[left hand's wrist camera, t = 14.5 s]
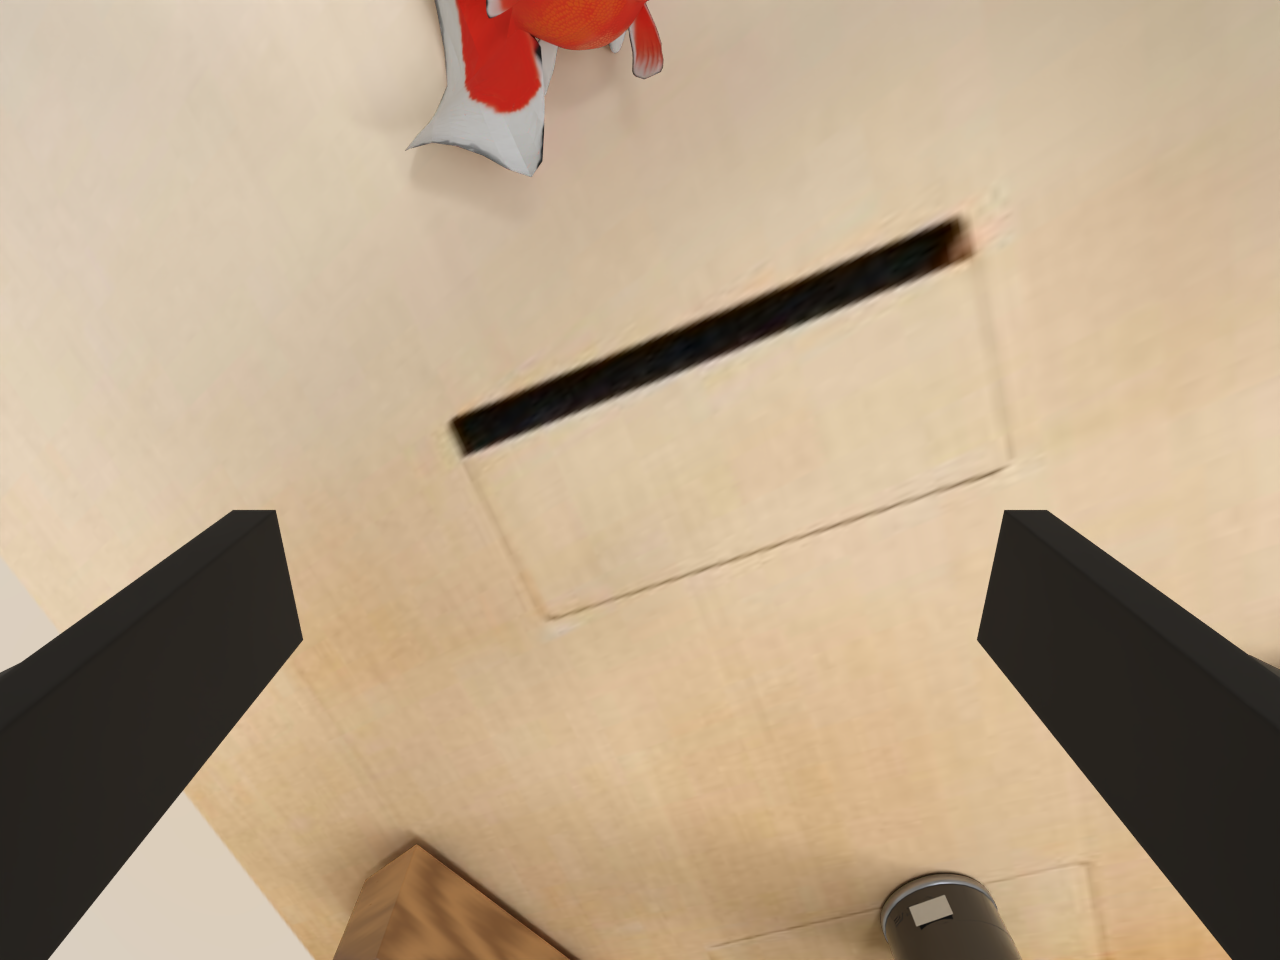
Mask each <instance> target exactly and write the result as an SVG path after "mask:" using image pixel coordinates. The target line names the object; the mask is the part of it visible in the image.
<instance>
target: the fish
mask: <svg viewBox="0 0 1280 960" xmlns="http://www.w3.org/2000/svg"><path fill="white" fill-rule="evenodd" d="M646 1H648V0H435V4H436V8H437V13H438V18H439V24H440V29H441V34H442V40H443V45H444V51H445V63H446V75H447V87H446V90H445V92H444V95H443V97H442V100H441V102H440V104H439V107H438V109H437V111H436V113H435V115H434V116H433V118H432V119H431V121H430V122H429V123H428V125H427V126H426V127H425V128H424V129H423V130H422V131H421V132H420V133H419V134H418V135H417V136H416V138H415V139H414V140H413V141H412V143H411V144H410V145H409V147H408V148H407V149H406V150H408V149H410V148H414V147H418V146H421V145H425V144H429V143H439V144H447V145H454V146H458V147H460V148H463V149H466V150H469V151H472V152H475V153H478V154H481V155H483V156H485V157H487V158H489V159H490V160H492V161H494V162H496V163H498V164H499V165H501V166H503V167H505V168H507V169H509V170H512V171H515V172H518V173H521V174H524V175H527V176H530V177H532V175H533V174H534V172H535V171H536V169H537V168H538V167H539V165H540V164H541V162H542V158H543V138H544V110H545V102H544V95H546V93H547V89H548V86H549V83H550V80H551V77H552V74H553V70H554V66H555V60H556V54H557V50H558V47H562V48H565V49H570V50H586V49H594V48H599V47H602V46H605V45H607V44H609V46H610V48H611V50H612V52H613V53H617V52H618V51H619V50H620V48H621V46H622V43H623V40H624V37H625V33H626V30H627V29H629V36H630V41H631V47H632V52H633V67H632V71H633V74H634V75H635V76H636V77H639V78H642V79H646V78H648V77H651V76H653V75H655V74H657V73H659V72H661V70H662V68H663V55H662V48H661V40H660V37H659V34H658V31H657V28H656V26H655V23H654V21H653V19H652V16H651V14H650V12H649V10H648V8H647V5H646ZM535 37H536V38H538V39H539V40H538V42H537V40H536V39H535ZM406 150H405V151H406Z"/></svg>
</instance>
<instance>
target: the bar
mask: <svg viewBox="0 0 1280 960" xmlns="http://www.w3.org/2000/svg"><path fill="white" fill-rule="evenodd" d="M333 960H570V959H568V958H567V957H566V956H565V955H563V954H562V953H561V952H559V951H558V950H557V949H555V948H554V947H553V946H551V945H550V944H549V943H547V942H546V941H545V940H543V939H542V938H541V937H539V936H538V935H537V934H535V933H534V932H533V931H531V930H530V929H529V928H527V927H526V926H525V925H523V924H522V923H521V922H519V921H518V920H517V919H515V918H514V917H513V916H511V915H510V914H509V913H507V912H506V911H505V910H504V909H502V908H501V907H500V906H498V905H497V904H496V903H494V902H493V901H492V900H490V899H489V898H488V897H486V896H485V895H484V894H482V893H481V892H480V891H478V890H477V889H476V888H474V887H473V886H472V885H470V884H469V883H468V882H466V881H465V880H464V879H462V878H461V877H460V876H458V875H457V874H456V873H454V872H453V871H452V870H450V869H449V868H448V867H446V866H445V865H444V864H443V863H441V862H440V861H439V860H437V859H436V858H435V857H433V856H432V855H431V854H429V853H428V852H427V851H425V850H424V849H423V848H421V847H420V846H419V845H417V844H416V845H415V846H413V847H412V848H410V849H409V850H408V851H406V852H405V853H403V854H402V855H400V856H399V857H398V858H396V859H395V860H393V861H392V862H390V863H389V864H388V865H386V866H385V867H383V868H382V869H381V870H379V871H378V872H376V873H375V874H373V875H372V876H371V877H369V878H368V879H366V880H365V883H364V885H363V888H362V890H361V893H360V895H359V897H358V900H357V902H356V905H355V907H354V910H353V912H352V914H351V917H350V919H349V922H348V924H347V927H346V929H345V931H344V934H343V936H342V939H341V941H340V944H339V946H338V949H337V951H336V953H335V956H334V958H333Z"/></svg>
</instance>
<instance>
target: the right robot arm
mask: <svg viewBox="0 0 1280 960" xmlns="http://www.w3.org/2000/svg"><path fill="white" fill-rule="evenodd" d="M880 921H881V927H882V930H883V933H884V936H885V938H886V940H887V942H888V944H889V946H890V949H891V952H892V955H893V958H894V960H1022V958H1021V956H1020V954H1019V952H1018V950H1017V948H1016V946H1015V944H1014V942H1013V940H1012V938H1011V936H1010V934H1009V932H1008V930H1007V928H1006V926H1005V924H1004V922H1003V920H1002V919H1001V917H1000V915H999V913H998V910H997V906H996V904H995V902H994V900H993V898H992V896H991V895H990V893H989V891H988V890H987V889H986V888H985V887H984V886H983V885H982V884H980V883H979V882H977V881H975V880H973V879H971V878H968V877H965V876H961V875H955V874H936V875H930V876H925V877H922V878H919V879H916V880H913V881H911V882H909V883H907V884H905V885H904V886H902V887H901V888H899V889H898V890H897V891H895V892H894V893H893V894H892V895H891V896H890V897H889V898H888V900H887V901H886V903H885V904H884V906H883V909H882V912H881V917H880Z"/></svg>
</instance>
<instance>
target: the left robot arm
mask: <svg viewBox="0 0 1280 960" xmlns="http://www.w3.org/2000/svg"><path fill="white" fill-rule="evenodd" d="M302 641H303V637H302V633H301V628H300V623H299V618H298V614H297V609H296V604H295V600H294V595H293V590H292V585H291V581H290V576H289V571H288V566H287V562H286V557H285V552H284V548H283V543H282V538H281V533H280V529H279V524H278V519H277V514H276V510H233V511H231V512H230V513H228V514H227V515H226V516H224V517H223V518H221V519H220V520H219V521H217V522H216V523H214V524H213V525H212V526H210V527H209V528H207V529H206V530H205V531H203V532H202V533H201V534H199V535H198V536H196V537H195V538H194V539H192V540H191V541H189V542H188V543H187V544H185V545H184V546H182V547H181V548H180V549H178V550H177V551H175V552H174V553H173V554H171V555H170V556H169V557H167V558H166V559H164V560H163V561H162V562H160V563H159V564H157V565H156V566H155V567H153V568H152V569H150V570H149V571H148V572H146V573H145V574H143V575H142V576H141V577H139V578H138V579H137V580H135V581H134V582H132V583H131V584H130V585H128V586H127V587H125V588H124V589H123V590H121V591H120V592H118V593H117V594H116V595H114V596H113V597H111V598H110V599H109V600H107V601H106V602H105V603H103V604H102V605H100V606H99V607H98V608H96V609H95V610H93V611H92V612H91V613H89V614H88V615H86V616H85V617H84V618H82V619H81V620H79V621H78V622H77V623H75V624H74V625H72V626H71V627H70V628H68V629H67V630H66V631H64V632H63V633H61V634H60V635H59V636H57V637H56V638H54V639H53V640H52V641H50V642H49V643H47V644H46V645H45V646H43V647H42V648H40V649H39V650H38V651H36V652H35V653H34V654H32V655H31V656H29V657H28V658H27V659H25V660H24V661H22V662H21V663H19V664H17V665H15V666H13V667H11V668H9V669H7V670H5V671H3V672H1V673H0V960H48V959H49V958H50V956H51V955H52V954H53V953H54V951H55V950H56V949H57V948H58V946H59V945H60V944H61V942H62V941H63V940H64V939H65V937H66V936H67V935H68V934H69V932H70V931H71V930H72V929H73V927H74V926H75V925H76V924H77V922H78V921H79V920H80V919H81V917H82V916H83V915H84V914H85V912H86V911H87V910H88V909H89V907H90V906H91V905H92V904H93V902H94V901H95V900H96V899H97V897H98V896H99V895H100V894H101V892H102V891H103V890H104V889H105V887H106V886H107V885H108V884H109V882H110V881H111V880H112V879H113V877H114V876H115V875H116V874H117V872H118V871H119V870H120V869H121V867H122V866H123V865H124V864H125V862H126V861H127V860H128V858H129V857H130V856H131V855H132V854H133V852H134V851H135V850H136V849H137V847H138V846H139V845H140V843H141V842H142V841H143V840H144V838H145V837H146V836H147V835H148V833H149V832H150V831H151V830H152V828H153V827H154V826H155V825H156V823H157V822H158V821H159V820H160V818H161V817H162V816H163V815H164V813H165V812H166V811H167V810H168V808H169V807H170V806H171V805H172V803H173V802H174V801H175V800H176V798H177V797H178V796H179V795H180V793H181V792H182V791H183V790H184V788H185V787H186V786H187V785H188V783H189V782H190V781H191V780H192V778H193V777H194V776H195V775H196V773H197V772H198V771H199V770H200V768H201V767H202V766H203V765H204V763H205V762H206V761H207V760H208V758H209V757H210V756H211V755H212V753H213V752H214V751H215V750H216V748H217V747H218V746H219V745H220V743H221V742H222V741H223V740H224V738H225V737H226V736H227V735H228V733H229V732H230V731H231V730H232V728H233V727H234V726H235V724H236V723H237V722H238V721H239V719H240V718H241V717H242V716H243V714H244V713H245V712H246V711H247V709H248V708H249V707H250V706H251V704H252V703H253V702H254V701H255V699H256V698H257V697H258V696H259V694H260V693H261V692H262V691H263V689H264V688H265V687H266V686H267V684H268V683H269V682H270V681H271V679H272V678H273V677H274V676H275V674H276V673H277V672H278V671H279V669H280V668H281V667H282V666H283V664H284V663H285V662H286V661H287V659H288V658H289V657H290V656H291V654H292V653H293V652H294V651H295V649H296V648H297V647H298V646H299V644H300V643H301V642H302ZM977 641H978V642H979V643H980V644H981V646H982V647H983V648H984V649H985V651H986V652H987V653H988V654H989V656H990V657H991V658H992V659H993V661H994V662H995V663H996V664H997V666H998V667H999V668H1000V669H1001V671H1002V672H1003V673H1004V674H1005V676H1006V677H1007V678H1008V679H1009V681H1010V682H1011V683H1012V684H1013V686H1014V687H1015V688H1016V689H1017V691H1018V692H1019V693H1020V694H1021V696H1022V697H1023V698H1024V699H1025V701H1026V702H1027V703H1028V704H1029V706H1030V707H1031V708H1032V709H1033V711H1034V712H1035V713H1036V714H1037V716H1038V717H1039V718H1040V719H1041V721H1042V722H1043V723H1044V724H1045V726H1046V727H1047V728H1048V730H1049V731H1050V732H1051V733H1052V735H1053V736H1054V737H1055V738H1056V740H1057V741H1058V742H1059V743H1060V745H1061V746H1062V747H1063V748H1064V750H1065V751H1066V752H1067V753H1068V755H1069V756H1070V757H1071V758H1072V760H1073V761H1074V762H1075V763H1076V765H1077V766H1078V767H1079V768H1080V770H1081V771H1082V772H1083V773H1084V775H1085V776H1086V777H1087V778H1088V780H1089V781H1090V782H1091V783H1092V785H1093V786H1094V787H1095V788H1096V790H1097V791H1098V792H1099V793H1100V795H1101V796H1102V797H1103V798H1104V800H1105V801H1106V802H1107V803H1108V805H1109V806H1110V807H1111V808H1112V810H1113V811H1114V812H1115V813H1116V815H1117V816H1118V817H1119V818H1120V820H1121V821H1122V822H1123V823H1124V825H1125V826H1126V827H1127V828H1128V830H1129V831H1130V832H1131V833H1132V835H1133V836H1134V837H1135V839H1136V840H1137V841H1138V842H1139V844H1140V845H1141V846H1142V847H1143V849H1144V850H1145V851H1146V852H1147V854H1148V855H1149V856H1150V857H1151V859H1152V860H1153V861H1154V862H1155V864H1156V865H1157V866H1158V867H1159V869H1160V870H1161V871H1162V872H1163V874H1164V875H1165V876H1166V877H1167V879H1168V880H1169V881H1170V882H1171V884H1172V885H1173V886H1174V887H1175V889H1176V890H1177V891H1178V892H1179V894H1180V895H1181V896H1182V897H1183V899H1184V900H1185V901H1186V902H1187V904H1188V905H1189V906H1190V907H1191V909H1192V910H1193V911H1194V912H1195V914H1196V915H1197V916H1198V917H1199V919H1200V920H1201V921H1202V922H1203V924H1204V925H1205V926H1206V927H1207V929H1208V930H1209V931H1210V932H1211V934H1212V935H1213V936H1214V937H1215V939H1216V940H1217V941H1218V942H1219V944H1220V945H1221V946H1222V948H1223V949H1224V950H1225V951H1226V953H1227V954H1228V955H1229V956H1230V958H1231V959H1232V960H1280V669H1278V668H1275V667H1273V666H1271V665H1269V664H1267V663H1265V662H1263V661H1261V660H1259V659H1257V658H1255V657H1253V656H1251V655H1248V654H1246V653H1245V652H1244V651H1242V650H1241V649H1240V648H1238V647H1237V646H1235V645H1234V644H1233V643H1231V642H1230V641H1228V640H1227V639H1226V638H1224V637H1223V636H1221V635H1220V634H1219V633H1217V632H1216V631H1214V630H1213V629H1212V628H1210V627H1209V626H1208V625H1206V624H1205V623H1203V622H1202V621H1201V620H1199V619H1198V618H1196V617H1195V616H1194V615H1192V614H1191V613H1189V612H1188V611H1187V610H1185V609H1184V608H1182V607H1181V606H1180V605H1178V604H1177V603H1175V602H1174V601H1173V600H1171V599H1170V598H1169V597H1167V596H1166V595H1164V594H1163V593H1162V592H1160V591H1159V590H1157V589H1156V588H1155V587H1153V586H1152V585H1150V584H1149V583H1148V582H1146V581H1145V580H1143V579H1142V578H1141V577H1139V576H1138V575H1137V574H1135V573H1134V572H1132V571H1131V570H1130V569H1128V568H1127V567H1125V566H1124V565H1123V564H1121V563H1120V562H1118V561H1117V560H1116V559H1114V558H1113V557H1111V556H1110V555H1109V554H1107V553H1106V552H1105V551H1103V550H1102V549H1100V548H1099V547H1098V546H1096V545H1095V544H1093V543H1092V542H1091V541H1089V540H1088V539H1086V538H1085V537H1084V536H1082V535H1081V534H1079V533H1078V532H1077V531H1075V530H1074V529H1073V528H1071V527H1070V526H1068V525H1067V524H1066V523H1064V522H1063V521H1061V520H1060V519H1059V518H1057V517H1056V516H1054V515H1053V514H1052V513H1050V512H1049V511H1047V510H1004V514H1003V519H1002V524H1001V529H1000V533H999V538H998V543H997V548H996V552H995V557H994V562H993V566H992V571H991V576H990V581H989V585H988V590H987V595H986V600H985V604H984V609H983V614H982V618H981V623H980V628H979V633H978V637H977Z"/></svg>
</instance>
